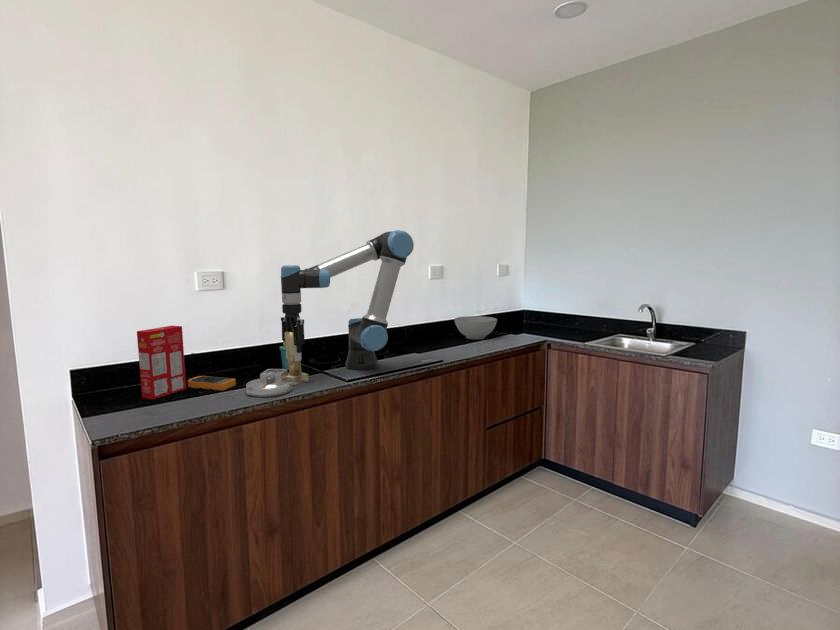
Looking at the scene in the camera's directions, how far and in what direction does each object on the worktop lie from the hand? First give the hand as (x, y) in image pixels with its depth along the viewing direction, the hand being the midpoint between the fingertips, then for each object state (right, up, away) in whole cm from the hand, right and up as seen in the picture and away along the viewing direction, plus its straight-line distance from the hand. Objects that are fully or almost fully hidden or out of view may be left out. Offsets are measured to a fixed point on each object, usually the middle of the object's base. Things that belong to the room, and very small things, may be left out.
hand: (293, 359), depth 190 cm
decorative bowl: (+87, +4, +102) cm, 134 cm away
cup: (-8, -7, +21) cm, 24 cm away
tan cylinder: (0, -6, +1) cm, 6 cm away
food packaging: (-45, -12, -15) cm, 49 cm away
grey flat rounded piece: (-6, -11, -12) cm, 18 cm away
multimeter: (-32, -11, -6) cm, 34 cm away
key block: (0, -9, +1) cm, 9 cm away
